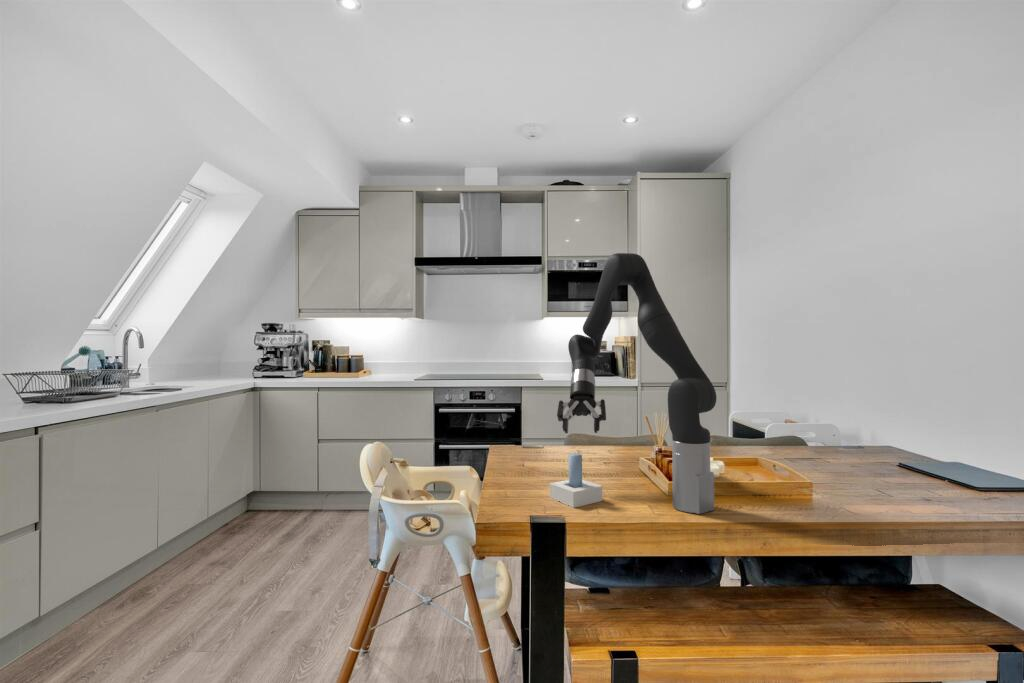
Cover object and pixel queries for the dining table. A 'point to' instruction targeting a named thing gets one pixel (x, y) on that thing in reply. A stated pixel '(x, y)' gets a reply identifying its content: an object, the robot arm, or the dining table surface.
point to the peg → (575, 470)
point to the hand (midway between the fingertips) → (580, 431)
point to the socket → (576, 493)
